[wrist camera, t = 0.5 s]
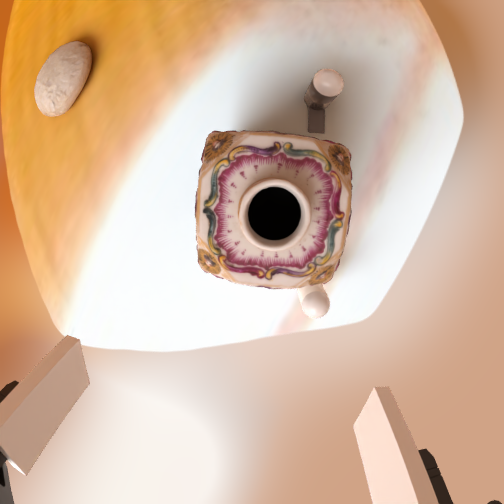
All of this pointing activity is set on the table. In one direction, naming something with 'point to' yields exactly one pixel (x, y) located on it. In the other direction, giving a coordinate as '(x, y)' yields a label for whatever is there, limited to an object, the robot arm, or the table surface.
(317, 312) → the salt shaker
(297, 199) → the decorative jar
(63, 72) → the stone
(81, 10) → the table surface
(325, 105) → the pepper shaker
